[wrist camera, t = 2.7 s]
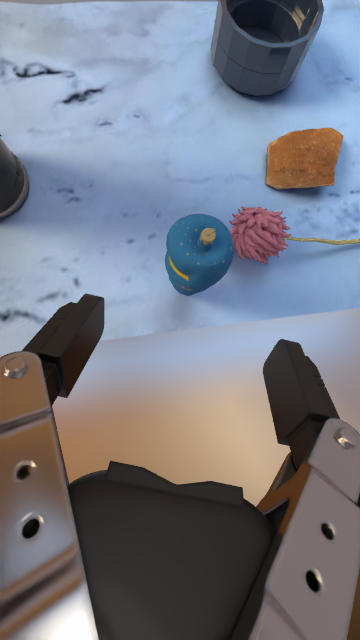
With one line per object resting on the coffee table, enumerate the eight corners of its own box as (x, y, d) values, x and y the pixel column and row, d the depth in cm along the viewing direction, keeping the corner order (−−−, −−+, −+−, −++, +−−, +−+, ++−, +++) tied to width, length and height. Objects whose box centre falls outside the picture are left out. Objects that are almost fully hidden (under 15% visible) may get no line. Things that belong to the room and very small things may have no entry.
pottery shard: (336, 135, 33) (350, 118, 31) (341, 197, 32) (356, 185, 30) (263, 130, 32) (271, 112, 30) (265, 193, 31) (274, 180, 29)
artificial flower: (372, 217, 35) (214, 217, 29) (432, 196, 28) (241, 190, 23) (374, 263, 36) (218, 271, 30) (433, 252, 29) (246, 261, 23)
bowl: (217, 103, 32) (229, 49, 26) (204, 26, 34) (213, -43, 28) (302, 99, 33) (332, 45, 27) (286, 24, 35) (312, -43, 29)
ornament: (158, 275, 29) (152, 202, 14) (197, 262, 30) (231, 179, 15) (172, 315, 29) (181, 281, 14) (211, 301, 29) (261, 255, 14)
